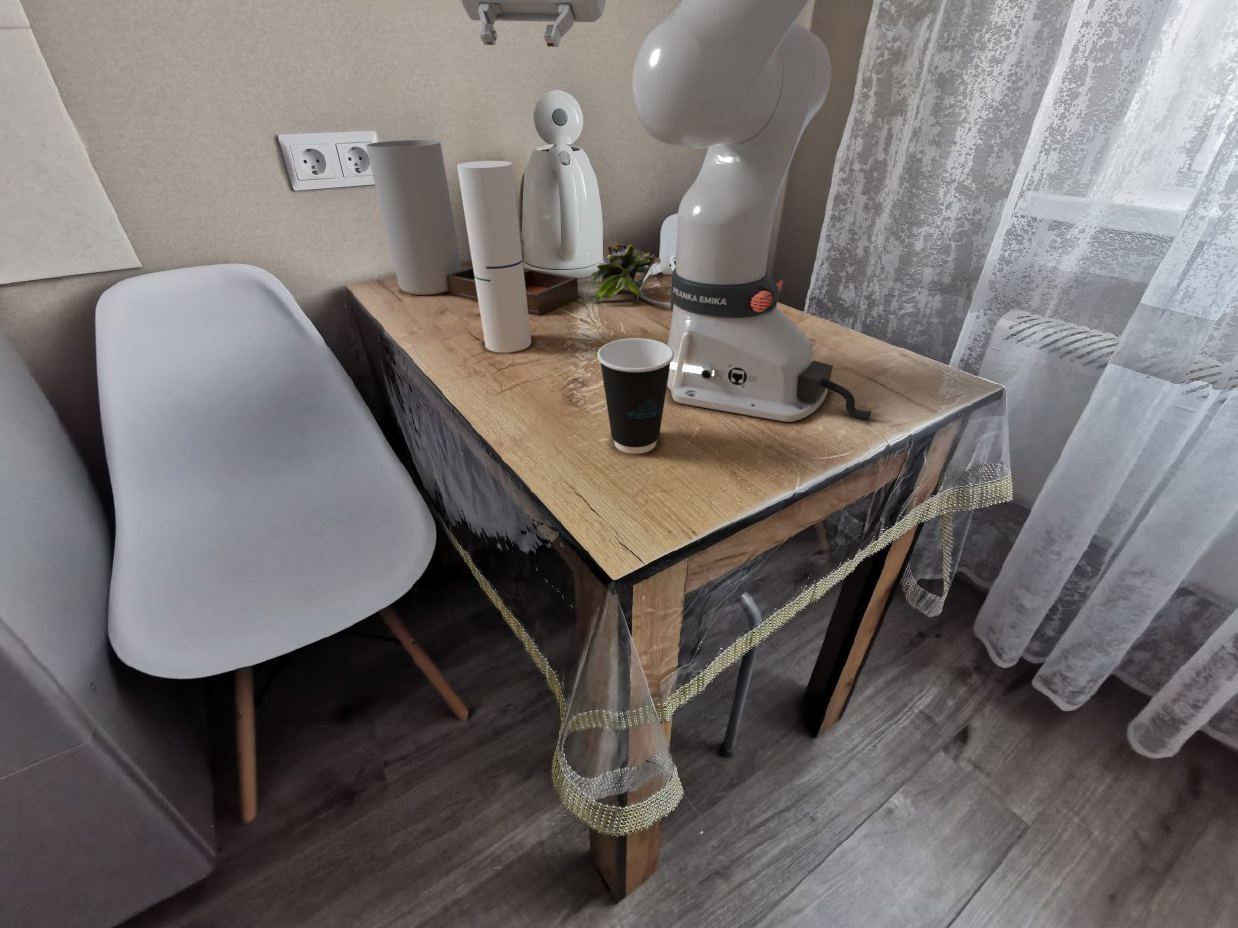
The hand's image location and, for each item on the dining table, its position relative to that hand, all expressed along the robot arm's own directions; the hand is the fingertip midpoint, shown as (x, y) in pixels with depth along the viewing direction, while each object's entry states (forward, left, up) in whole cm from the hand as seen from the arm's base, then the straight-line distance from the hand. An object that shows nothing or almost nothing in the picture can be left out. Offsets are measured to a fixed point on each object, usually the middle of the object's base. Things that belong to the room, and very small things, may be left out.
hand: (518, 42), depth 75 cm
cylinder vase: (+31, -3, -38) cm, 49 cm away
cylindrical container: (-2, +11, -38) cm, 40 cm away
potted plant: (-6, -17, -38) cm, 42 cm away
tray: (+13, -7, -38) cm, 41 cm away
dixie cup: (-34, +25, -38) cm, 57 cm away
